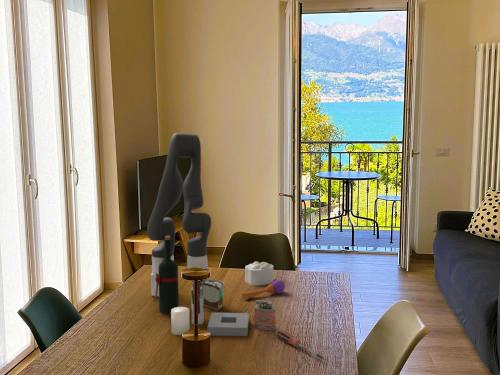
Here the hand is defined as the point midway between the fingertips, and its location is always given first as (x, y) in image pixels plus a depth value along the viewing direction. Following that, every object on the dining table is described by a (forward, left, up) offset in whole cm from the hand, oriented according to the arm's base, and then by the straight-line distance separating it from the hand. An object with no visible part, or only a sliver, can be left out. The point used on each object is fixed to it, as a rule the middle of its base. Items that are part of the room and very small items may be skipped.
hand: (197, 311), depth 200 cm
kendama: (+25, +31, -5) cm, 40 cm away
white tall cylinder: (0, 0, -4) cm, 4 cm away
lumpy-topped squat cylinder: (+23, +51, -5) cm, 56 cm away
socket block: (+12, -5, -4) cm, 14 cm away
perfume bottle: (+25, -4, -5) cm, 26 cm away
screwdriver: (+37, -21, -5) cm, 43 cm away
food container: (+5, +18, -5) cm, 19 cm away
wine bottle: (-14, +11, -4) cm, 18 cm away
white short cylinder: (-5, -9, -4) cm, 11 cm away
